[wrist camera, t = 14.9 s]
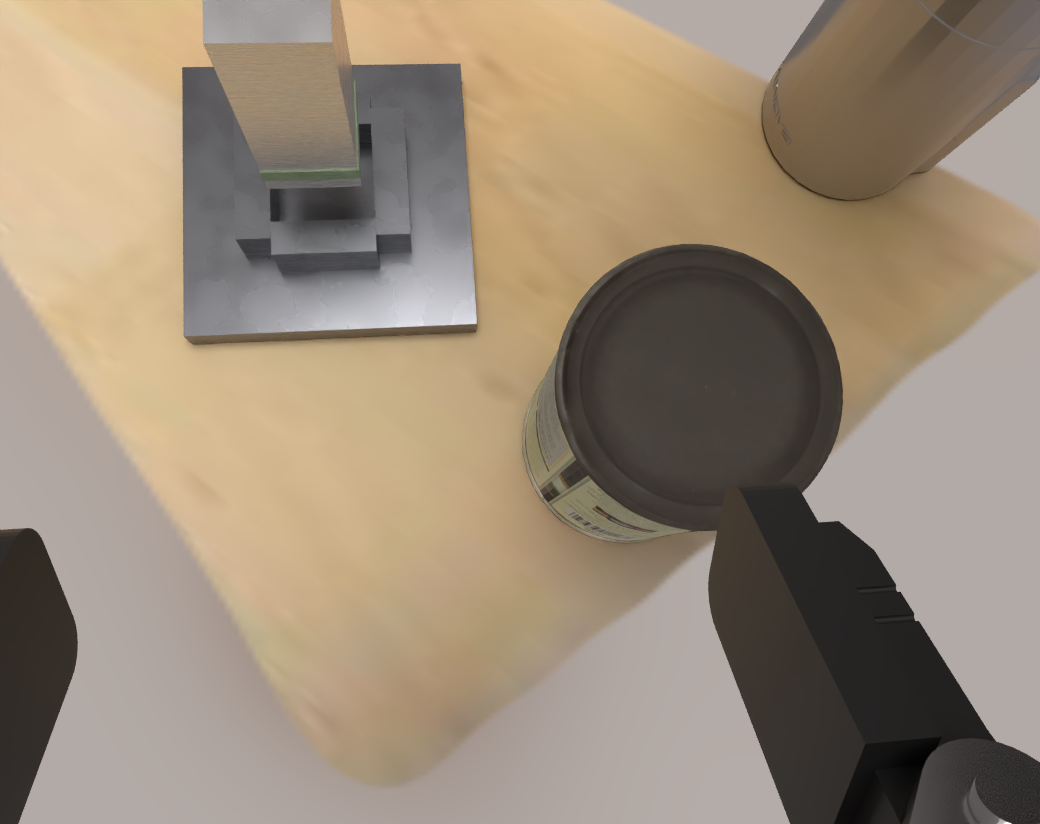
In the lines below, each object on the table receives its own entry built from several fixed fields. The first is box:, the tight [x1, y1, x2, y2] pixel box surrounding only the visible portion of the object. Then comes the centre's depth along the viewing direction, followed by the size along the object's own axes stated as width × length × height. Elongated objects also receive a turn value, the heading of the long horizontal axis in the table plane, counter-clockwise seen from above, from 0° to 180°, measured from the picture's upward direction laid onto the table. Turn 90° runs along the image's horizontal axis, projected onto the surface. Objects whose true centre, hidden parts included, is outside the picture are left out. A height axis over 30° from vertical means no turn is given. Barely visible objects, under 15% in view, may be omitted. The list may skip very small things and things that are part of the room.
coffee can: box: [523, 244, 843, 543], centre depth 38 cm, size 10×10×14 cm
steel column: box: [203, 0, 361, 189], centre depth 34 cm, size 4×4×11 cm
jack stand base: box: [182, 64, 477, 344], centre depth 41 cm, size 14×14×8 cm
